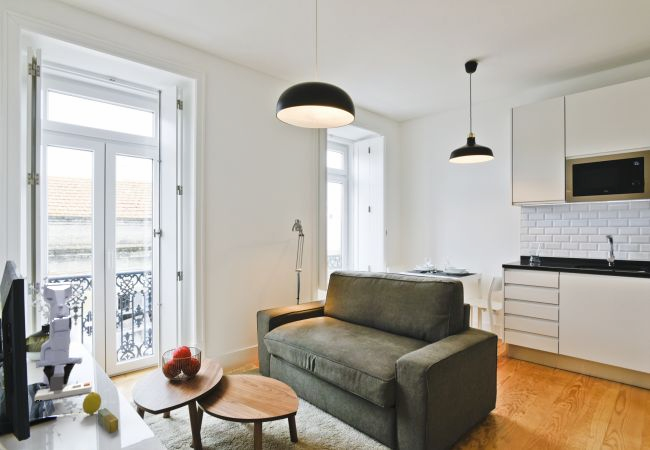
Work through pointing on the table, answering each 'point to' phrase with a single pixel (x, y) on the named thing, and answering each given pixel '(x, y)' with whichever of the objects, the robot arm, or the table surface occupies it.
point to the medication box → (107, 420)
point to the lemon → (91, 403)
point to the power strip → (64, 391)
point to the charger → (57, 383)
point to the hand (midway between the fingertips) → (58, 384)
